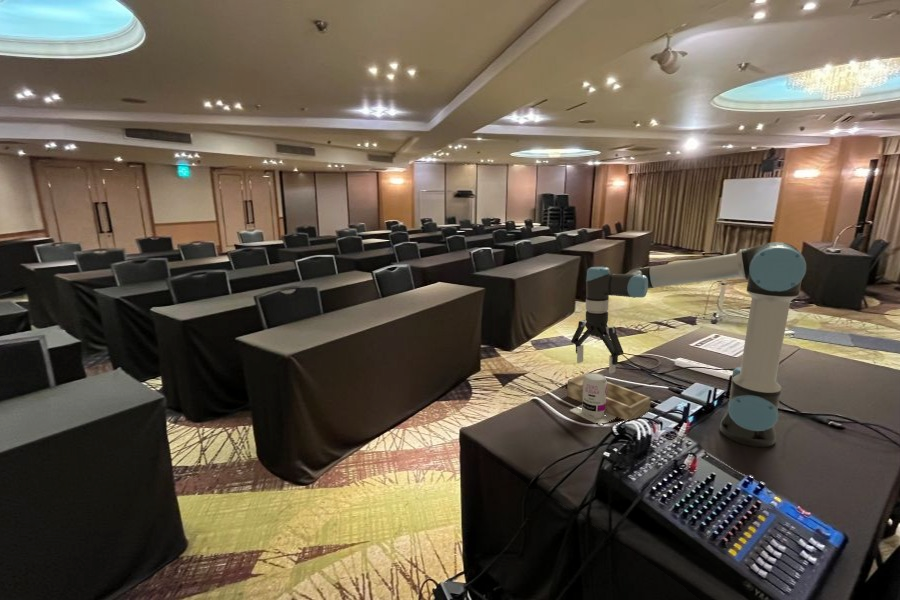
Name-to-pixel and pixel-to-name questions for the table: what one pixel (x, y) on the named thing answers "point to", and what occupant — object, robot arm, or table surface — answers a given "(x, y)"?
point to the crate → (633, 399)
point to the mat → (598, 420)
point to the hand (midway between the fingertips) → (595, 367)
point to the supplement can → (594, 395)
